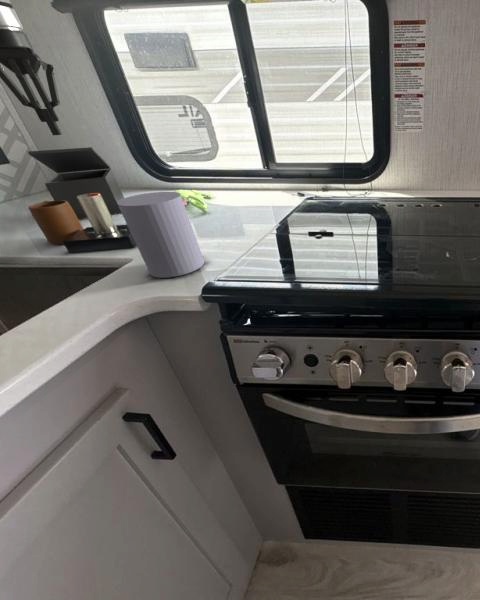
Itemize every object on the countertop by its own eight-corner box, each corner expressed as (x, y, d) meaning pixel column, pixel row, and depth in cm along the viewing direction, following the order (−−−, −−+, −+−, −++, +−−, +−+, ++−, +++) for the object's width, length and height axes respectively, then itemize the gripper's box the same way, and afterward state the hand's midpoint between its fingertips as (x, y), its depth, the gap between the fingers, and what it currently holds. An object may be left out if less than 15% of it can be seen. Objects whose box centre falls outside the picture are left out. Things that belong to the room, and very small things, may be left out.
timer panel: (69, 253, 79) (61, 240, 78) (92, 238, 88) (86, 226, 86) (133, 247, 82) (128, 235, 80) (150, 233, 90) (146, 222, 88)
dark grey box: (121, 213, 106) (105, 177, 101) (65, 220, 100) (44, 183, 94) (125, 201, 119) (111, 168, 113) (75, 207, 112) (57, 173, 107)
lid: (92, 150, 97) (91, 147, 97) (28, 154, 91) (27, 151, 91) (110, 168, 113) (110, 166, 113) (57, 173, 106) (56, 170, 106)
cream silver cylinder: (91, 235, 81) (71, 196, 76) (101, 229, 84) (82, 192, 79) (112, 233, 81) (93, 195, 77) (120, 227, 85) (103, 191, 80)
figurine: (137, 224, 97) (128, 205, 94) (157, 201, 118) (151, 185, 115) (206, 216, 102) (200, 198, 99) (214, 195, 123) (209, 180, 121)
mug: (45, 236, 89) (23, 201, 84) (80, 228, 94) (62, 195, 89) (51, 247, 82) (28, 210, 77) (90, 238, 87) (70, 203, 82)
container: (141, 281, 67) (105, 207, 59) (162, 260, 75) (133, 193, 67) (195, 276, 68) (168, 203, 60) (210, 256, 77) (188, 190, 69)
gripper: (42, 33, 88) (88, 132, 100) (-27, 30, 82) (30, 135, 95) (34, 29, 82) (84, 134, 95) (-40, 25, 77) (23, 137, 89)
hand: (57, 134), depth 95 cm, fingers closed
